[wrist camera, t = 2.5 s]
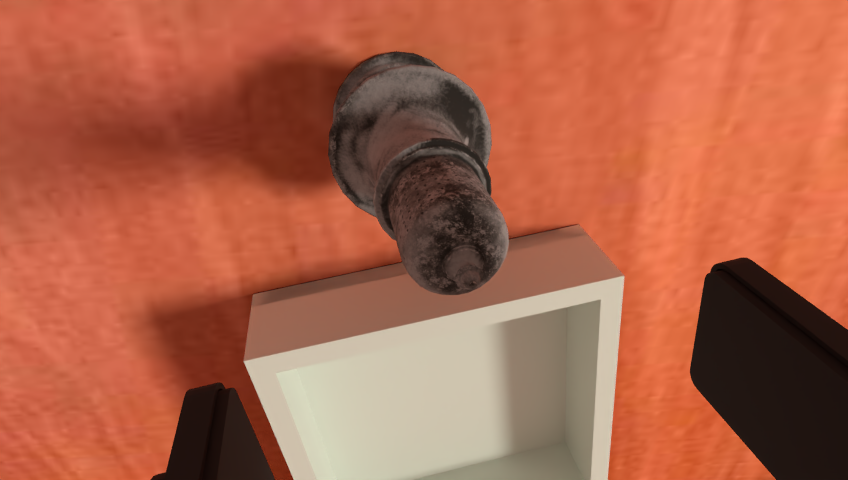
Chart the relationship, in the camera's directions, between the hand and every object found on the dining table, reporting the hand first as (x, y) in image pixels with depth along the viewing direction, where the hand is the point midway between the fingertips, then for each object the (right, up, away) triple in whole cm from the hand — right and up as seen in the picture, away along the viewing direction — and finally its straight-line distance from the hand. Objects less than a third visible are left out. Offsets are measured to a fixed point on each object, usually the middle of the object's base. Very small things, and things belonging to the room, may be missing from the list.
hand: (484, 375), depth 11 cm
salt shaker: (-2, +8, +12) cm, 14 cm away
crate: (0, -5, +20) cm, 20 cm away
